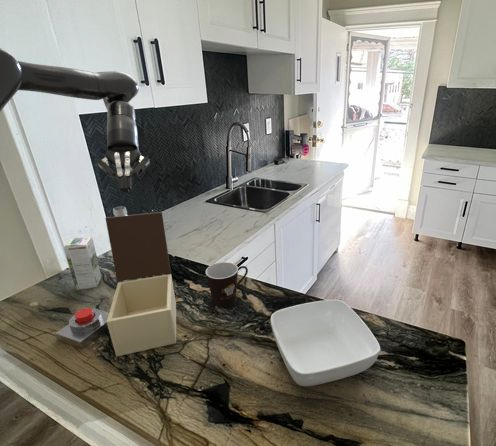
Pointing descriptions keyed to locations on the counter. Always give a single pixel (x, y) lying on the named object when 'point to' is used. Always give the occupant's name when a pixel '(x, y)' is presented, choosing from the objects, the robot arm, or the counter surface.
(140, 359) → the counter surface
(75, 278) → the syrup box
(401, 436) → the counter surface
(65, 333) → the control block
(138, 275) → the lid
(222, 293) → the coffee mug
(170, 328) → the cream hinged box
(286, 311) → the bowl
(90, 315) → the button
